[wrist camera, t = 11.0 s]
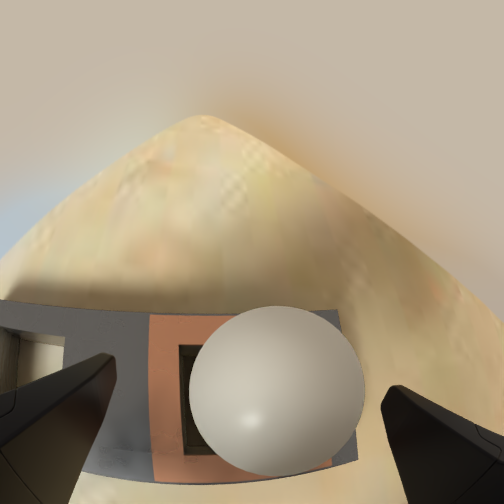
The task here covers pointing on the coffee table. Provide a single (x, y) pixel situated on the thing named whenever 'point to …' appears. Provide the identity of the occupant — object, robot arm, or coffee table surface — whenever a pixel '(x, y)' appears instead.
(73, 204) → the coffee table surface
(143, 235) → the coffee table surface
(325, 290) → the coffee table surface
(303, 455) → the peg
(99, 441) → the rail
